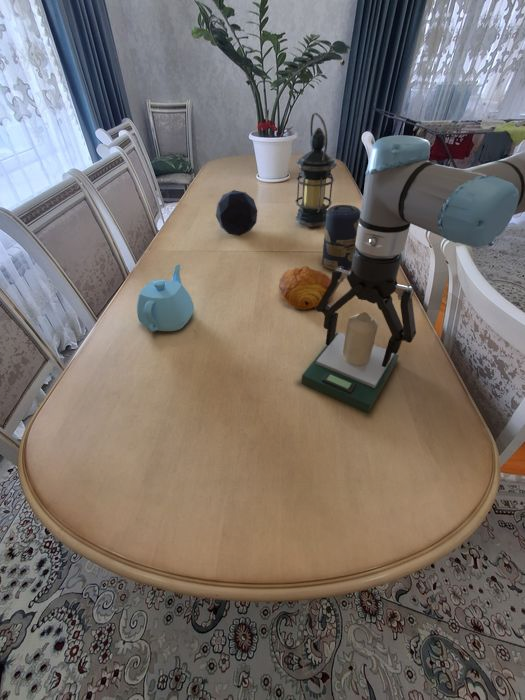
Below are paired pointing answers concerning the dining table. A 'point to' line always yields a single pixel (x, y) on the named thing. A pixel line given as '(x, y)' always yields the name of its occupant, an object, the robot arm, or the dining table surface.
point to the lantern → (315, 179)
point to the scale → (349, 375)
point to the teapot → (165, 304)
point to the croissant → (303, 287)
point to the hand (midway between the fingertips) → (356, 351)
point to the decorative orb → (236, 212)
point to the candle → (359, 339)
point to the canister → (340, 236)
